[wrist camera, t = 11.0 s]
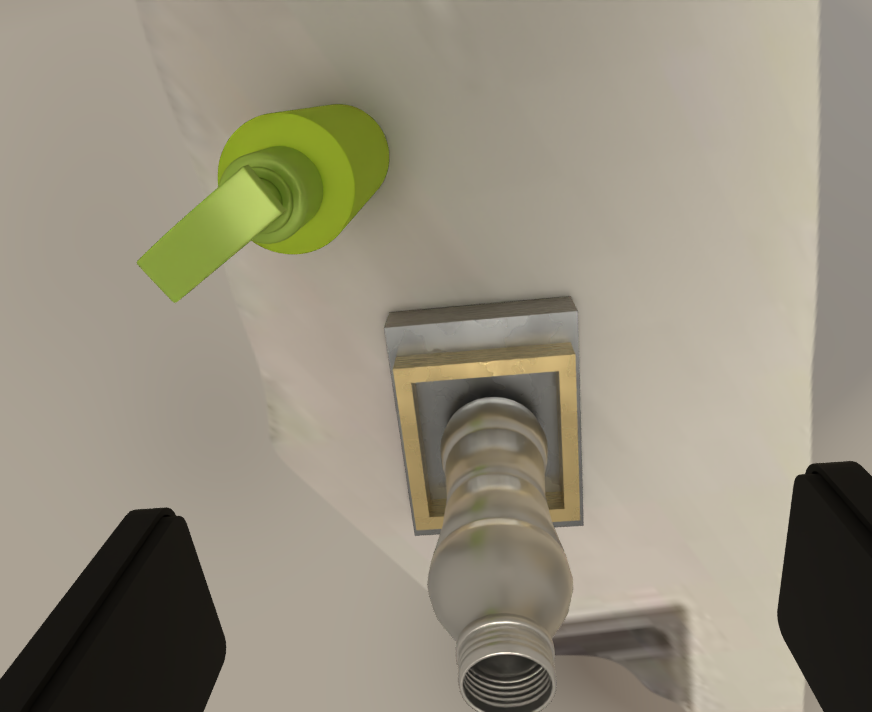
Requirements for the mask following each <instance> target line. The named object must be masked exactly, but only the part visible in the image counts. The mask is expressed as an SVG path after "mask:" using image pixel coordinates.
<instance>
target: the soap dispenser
mask: <svg viewBox="0 0 872 712" xmlns="http://www.w3.org/2000/svg"><path fill="white" fill-rule="evenodd" d="M388 166H389V149H388V144H387V141H386V138H385V136H384V133H383V132H382V130H381V128H380V127H379V125H378V124H377V123H376V122H375V121H374V119H373V118H371V117H370V116H369V115H368V114H366V113H365V112H363V111H362V110H360V109H358V108H355V107H352V106H349V105H343V104H334V105H326V106H319V107H312V108H305V109H297V110H290V111H283V112H276V113H269V114H264V115H261V116H258V117H255V118H253V119H251V120H249V121H248V122H246V123H244V124H243V125H242V126H240V127H239V128H238V129H237V130H236V131H235V132H234V133H233V134H232V136H231V137H230V138H229V140H228V141H227V143H226V145H225V147H224V149H223V151H222V154H221V157H220V161H219V166H218V188H217V189H216V190H215V191H214V192H212V193H211V194H210V195H209V196H208V197H207V198H205V199H204V200H203V201H202V202H201V203H200V204H199V205H197V206H196V207H195V208H194V209H193V210H192V211H191V212H189V213H188V214H187V215H186V216H185V217H184V218H183V219H182V220H180V222H178V223H177V224H176V225H175V226H174V227H173V228H172V229H170V231H168V232H167V233H166V234H165V235H164V236H163V237H162V238H161V239H160V240H159V241H157V242H156V243H155V244H154V245H153V246H152V247H151V248H150V249H149V250H148V251H147V252H146V253H145V254H144V255H143V256H142V257H141V258H140V259H139V260H138V261H137V264H138V265H139V267H141V269H142V270H143V271H144V272H145V273H146V274H147V275H148V276H149V277H150V278H151V279H152V280H153V282H154V283H155V284H156V285H157V286H158V287H159V288H160V289H161V290H162V291H163V292H164V293H165V294H166V295H167V296H168V297H169V298H170V299H171V300H172V301H173V302H174V303H175V302H177V301H179V300H180V299H181V298H182V297H184V296H185V295H186V294H188V293H189V292H190V291H191V290H192V289H194V288H195V287H196V286H197V285H198V284H199V283H201V282H202V281H203V280H204V279H205V278H207V277H208V276H209V275H210V274H212V273H213V272H214V271H215V270H216V269H218V268H219V267H220V266H221V265H222V264H224V263H225V262H226V261H227V260H228V259H230V258H231V257H232V256H233V255H234V254H236V253H237V252H238V251H239V250H240V249H242V248H243V247H244V246H245V245H246V244H248V243H249V242H250V241H253V242H254V243H256V244H257V245H259V246H261V247H263V248H265V249H268V250H271V251H274V252H278V253H283V254H303V253H308V252H312V251H315V250H317V249H320V248H322V247H323V246H325V245H327V244H328V243H330V242H331V241H332V240H334V239H335V238H336V237H337V236H338V235H339V234H340V232H341V231H342V230H343V229H344V228H345V227H346V226H347V224H348V223H349V222H350V221H351V220H352V219H353V217H354V216H355V215H356V214H357V213H358V212H359V210H360V209H361V208H362V207H363V206H364V205H365V204H366V202H367V201H368V200H369V199H370V198H371V197H372V195H373V194H374V193H375V192H376V191H377V190H378V189H379V187H380V186H381V184H382V183H383V181H384V179H385V177H386V174H387V171H388Z"/></svg>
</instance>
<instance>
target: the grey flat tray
mask: <svg viewBox="0 0 872 712" xmlns="http://www.w3.org/2000/svg"><path fill="white" fill-rule="evenodd" d="M384 331H385V338H386V344H387V351H388V358H389V365H390V371H391V378H392V385H393V392H394V398H395V405H396V412H397V419H398V425H399V432H400V439H401V446H402V452H403V459H404V466H405V473H406V479H407V486H408V493H409V499H410V506H411V513H412V520H413V526H414V533H415V536H419V535H436V534H440V532H441V529H442V526H443V520H444V514H445V508H446V501H447V491H446V476H445V474H444V470H443V467H442V460H441V452H440V445H441V439H442V436H443V433H444V430H445V428H446V426H447V424H448V422H449V420H450V419H451V417H452V416H453V414H454V413H455V412H456V411H457V410H458V409H460V408H461V407H462V406H464V405H465V404H467V403H469V402H472V401H474V400H477V399H481V398H485V397H501V398H507V399H510V400H514V401H516V402H518V403H520V404H522V405H523V406H525V407H526V408H527V409H529V410H530V411H531V412H532V413H533V415H534V416H535V417H536V419H537V420H538V422H539V424H540V425H541V427H542V429H543V431H544V433H545V435H546V439H547V444H548V456H547V465H546V471H545V497H546V500H547V504H548V509H549V512H550V516H551V520H552V523H553V526H554V527H569V526H583V487H582V449H581V411H580V372H579V334H578V310H577V308H576V306H575V304H574V302H573V300H572V298H571V296H568V297H557V298H546V299H535V300H523V301H512V302H501V303H490V304H479V305H468V306H456V307H445V308H434V309H423V310H412V311H400V312H389V315H388V318H387V321H386V324H385V327H384Z"/></svg>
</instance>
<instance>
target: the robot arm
mask: <svg viewBox="0 0 872 712" xmlns="http://www.w3.org/2000/svg"><path fill="white" fill-rule="evenodd" d="M777 616H778V623H779V628H780V631H781V634H782V636H783V638H784V640H785V642H786V644H787V646H788V648H789V649H790V651H791V653H792V655H793V657H794V659H795V660H796V662H797V664H798V666H799V668H800V669H801V671H802V673H803V675H804V677H805V679H806V680H807V682H808V684H809V686H810V688H811V689H812V691H813V693H814V695H815V697H816V699H817V700H818V702H819V704H820V706H821V708H822V709H823V711H824V712H872V476H871V475H870V474H869V473H868V472H867V471H866V470H865V469H864V468H863V467H862V466H861V465H860V464H858V463H857V462H853V461H846V462H831V463H816V464H811V465H809V467H808V468H807V470H806V473H805V474H802V475H798V476H797V477H796V478H795V481H794V486H793V494H792V502H791V509H790V517H789V525H788V533H787V540H786V548H785V556H784V564H783V571H782V579H781V587H780V595H779V602H778V610H777ZM225 654H226V641H225V636H224V633H223V630H222V627H221V624H220V621H219V618H218V615H217V613H216V609H215V606H214V603H213V601H212V598H211V594H210V592H209V589H208V586H207V583H206V580H205V577H204V574H203V571H202V568H201V565H200V562H199V559H198V556H197V553H196V550H195V547H194V544H193V541H192V538H191V535H190V532H189V529H188V526H187V523H186V521H185V520H184V518H183V517H181V516H176V515H175V513H174V511H173V510H172V509H170V508H153V509H138V510H133V511H130V512H129V513H128V514H127V515H126V516H125V517H124V519H123V520H122V521H121V522H120V524H119V525H118V527H117V528H116V529H115V530H114V532H113V533H112V534H111V536H110V537H109V538H108V540H107V541H106V542H105V543H104V545H103V546H102V547H101V549H100V550H99V551H98V552H97V554H96V555H95V557H94V558H93V559H92V560H91V562H90V563H89V564H88V566H87V567H86V568H85V569H84V571H83V572H82V573H81V575H80V576H79V577H78V579H77V580H76V581H75V583H74V584H73V585H72V586H71V588H70V589H69V590H68V592H67V593H66V594H65V596H64V597H63V598H62V599H61V601H60V602H59V603H58V605H57V606H56V607H55V609H54V610H53V611H52V612H51V614H50V615H49V616H48V618H47V619H46V620H45V622H44V623H43V624H42V626H41V627H40V628H39V629H38V631H37V632H36V633H35V635H34V636H33V637H32V639H31V640H30V641H29V642H28V644H27V645H26V647H25V648H24V649H23V650H22V652H21V653H20V654H19V656H18V657H17V658H16V659H15V661H14V662H13V664H12V665H11V666H10V667H9V669H8V670H7V671H6V672H5V674H4V675H3V676H2V678H1V679H0V712H203V711H204V709H205V707H206V704H207V702H208V699H209V697H210V695H211V692H212V690H213V687H214V685H215V682H216V680H217V678H218V675H219V673H220V670H221V668H222V665H223V663H224V660H225Z"/></svg>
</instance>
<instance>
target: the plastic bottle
mask: <svg viewBox="0 0 872 712" xmlns="http://www.w3.org/2000/svg"><path fill="white" fill-rule="evenodd" d="M440 452H441V460H442V467H443V470H444V474H445V476H446V491H447V501H446V508H445V514H444V520H443V526H442V529H441V532H440V535H439V539H438V542H437V545H436V548H435V551H434V554H433V558H432V560H431V565H430V570H429V575H428V584H427V585H428V592H429V597H430V601H431V604H432V607H433V610H434V612H435V615H436V617H437V619H438V621H439V622H440V623H441V625H442V626H443V628H444V629H445V630H446V631H447V632H448V633H449V634H450V636H451V637H452V638H453V639H454V640H455V641H456V662H457V665H458V683H459V688H460V693H461V695H462V698H463V699H464V700H465V702H466V703H467V704H468V705H469V706H470V707H471V708H472V709H474V710H475V711H477V712H540V711H542V710H543V709H544V708H546V707H547V706H548V704H550V702H551V701H552V699H553V698H554V696H555V692H556V683H557V682H556V673H555V667H554V661H555V651H554V645H553V642H552V638H553V636H554V635H555V634H556V632H557V631H558V629H559V628H560V627H561V625H562V624H563V622H564V620H565V618H566V616H567V614H568V611H569V606H570V602H571V597H572V592H573V577H572V574H571V571H570V567H569V564H568V560H567V557H566V554H565V553H564V550H563V547H562V545H561V543H560V540H559V538H558V535H557V533H556V530H555V528H554V526H553V523H552V520H551V516H550V512H549V509H548V504H547V500H546V497H545V471H546V465H547V456H548V444H547V439H546V435H545V433H544V431H543V429H542V427H541V425H540V424H539V422H538V420H537V419H536V417H535V416H534V415H533V413H532V412H531V411H530V410H529V409H527V408H526V407H525V406H523V405H522V404H520V403H518V402H516V401H514V400H510V399H507V398H501V397H485V398H481V399H477V400H474V401H472V402H469V403H467V404H465V405H464V406H462V407H461V408H460V409H458V410H457V411H456V412H455V413H454V414H453V416H452V417H451V419H450V420H449V422H448V424H447V426H446V428H445V430H444V433H443V436H442V439H441V445H440Z"/></svg>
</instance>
